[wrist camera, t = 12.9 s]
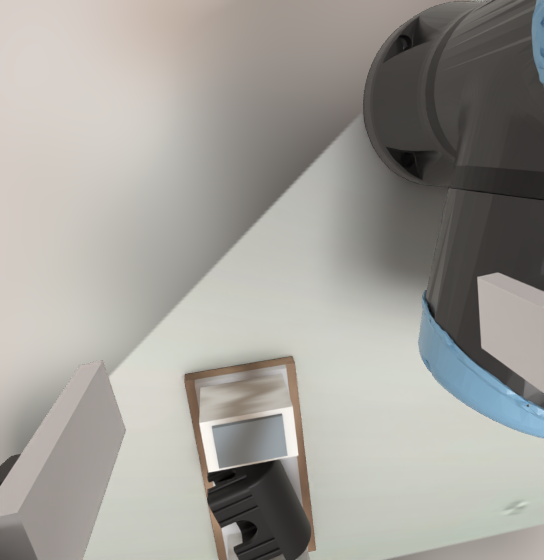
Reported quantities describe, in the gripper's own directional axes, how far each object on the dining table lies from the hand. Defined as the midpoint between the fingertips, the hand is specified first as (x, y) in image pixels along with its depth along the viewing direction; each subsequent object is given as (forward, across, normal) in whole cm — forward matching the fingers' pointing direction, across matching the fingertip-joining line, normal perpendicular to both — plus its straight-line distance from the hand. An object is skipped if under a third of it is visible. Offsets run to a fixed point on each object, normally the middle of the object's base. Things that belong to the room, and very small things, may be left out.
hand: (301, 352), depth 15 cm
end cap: (+26, -4, -26) cm, 37 cm away
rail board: (+28, -5, -26) cm, 38 cm away
